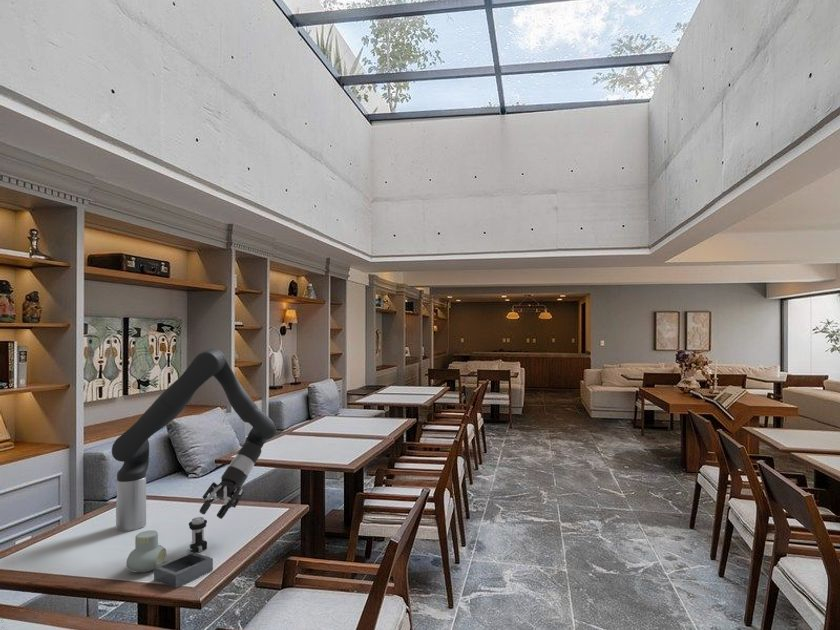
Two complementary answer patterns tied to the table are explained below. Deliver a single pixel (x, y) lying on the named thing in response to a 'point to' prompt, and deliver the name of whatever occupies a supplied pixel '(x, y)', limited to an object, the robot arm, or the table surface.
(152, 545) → the air freshener
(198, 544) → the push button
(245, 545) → the table surface
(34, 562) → the table surface
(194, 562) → the square socket
